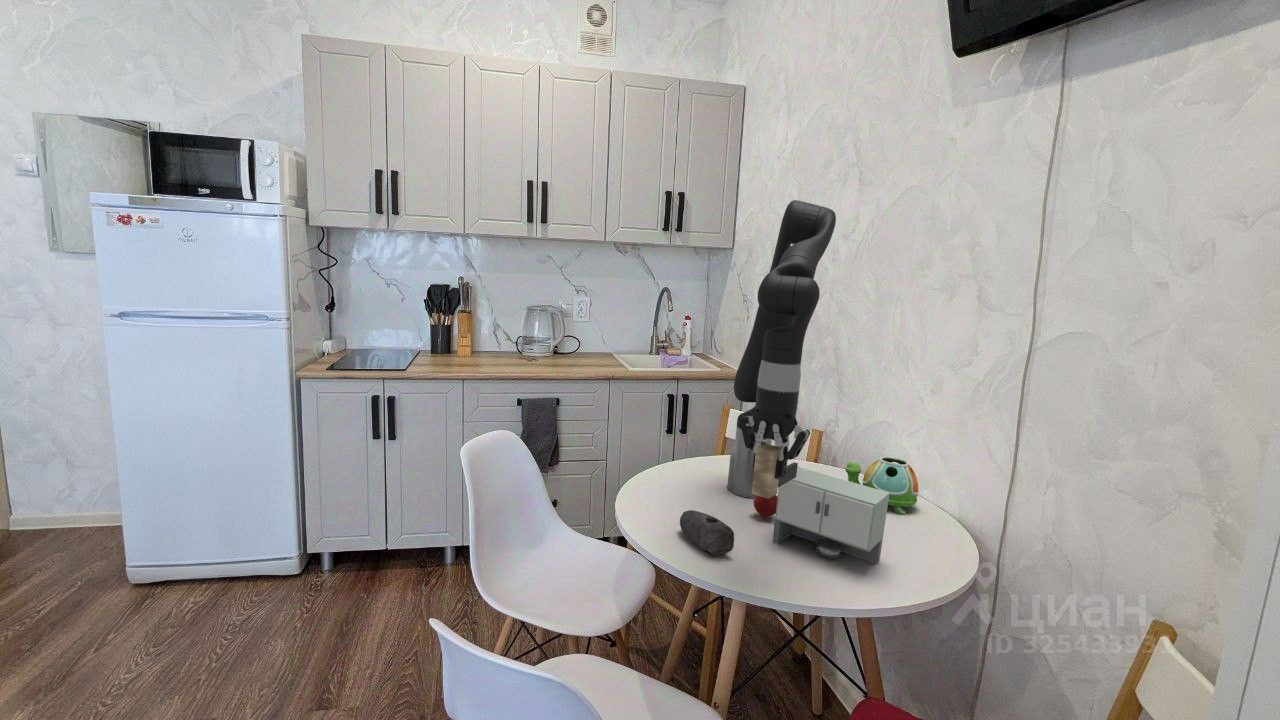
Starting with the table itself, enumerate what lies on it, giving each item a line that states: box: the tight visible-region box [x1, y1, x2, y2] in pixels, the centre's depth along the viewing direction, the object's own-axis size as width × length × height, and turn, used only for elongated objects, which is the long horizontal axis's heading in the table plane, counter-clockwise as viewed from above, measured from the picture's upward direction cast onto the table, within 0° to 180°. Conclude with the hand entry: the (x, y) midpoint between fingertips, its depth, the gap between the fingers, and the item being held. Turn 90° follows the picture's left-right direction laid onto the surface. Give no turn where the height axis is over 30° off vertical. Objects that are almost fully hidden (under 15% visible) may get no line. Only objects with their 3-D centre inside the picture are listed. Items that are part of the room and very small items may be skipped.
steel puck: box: [815, 539, 842, 561], centre depth 129 cm, size 5×5×2 cm
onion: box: [753, 494, 778, 520], centre depth 144 cm, size 6×6×8 cm
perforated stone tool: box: [679, 509, 735, 556], centre depth 129 cm, size 15×5×7 cm, turn 32°
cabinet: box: [772, 466, 890, 565], centre depth 129 cm, size 20×9×15 cm, turn 52°
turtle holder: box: [844, 456, 920, 515], centre depth 159 cm, size 12×18×12 cm
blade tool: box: [752, 444, 799, 499], centre depth 119 cm, size 4×15×9 cm, turn 142°
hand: (768, 474), depth 116 cm, fingers closed on blade tool, 3 cm apart
